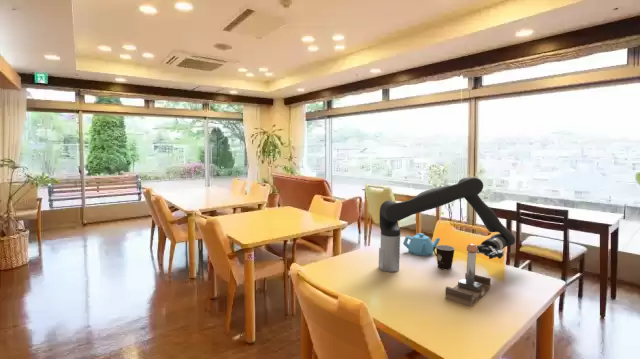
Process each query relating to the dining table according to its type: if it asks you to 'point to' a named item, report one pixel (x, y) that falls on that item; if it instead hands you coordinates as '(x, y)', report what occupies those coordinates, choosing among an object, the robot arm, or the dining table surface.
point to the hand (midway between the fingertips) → (479, 254)
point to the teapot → (420, 244)
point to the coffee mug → (444, 256)
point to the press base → (468, 292)
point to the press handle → (470, 271)
